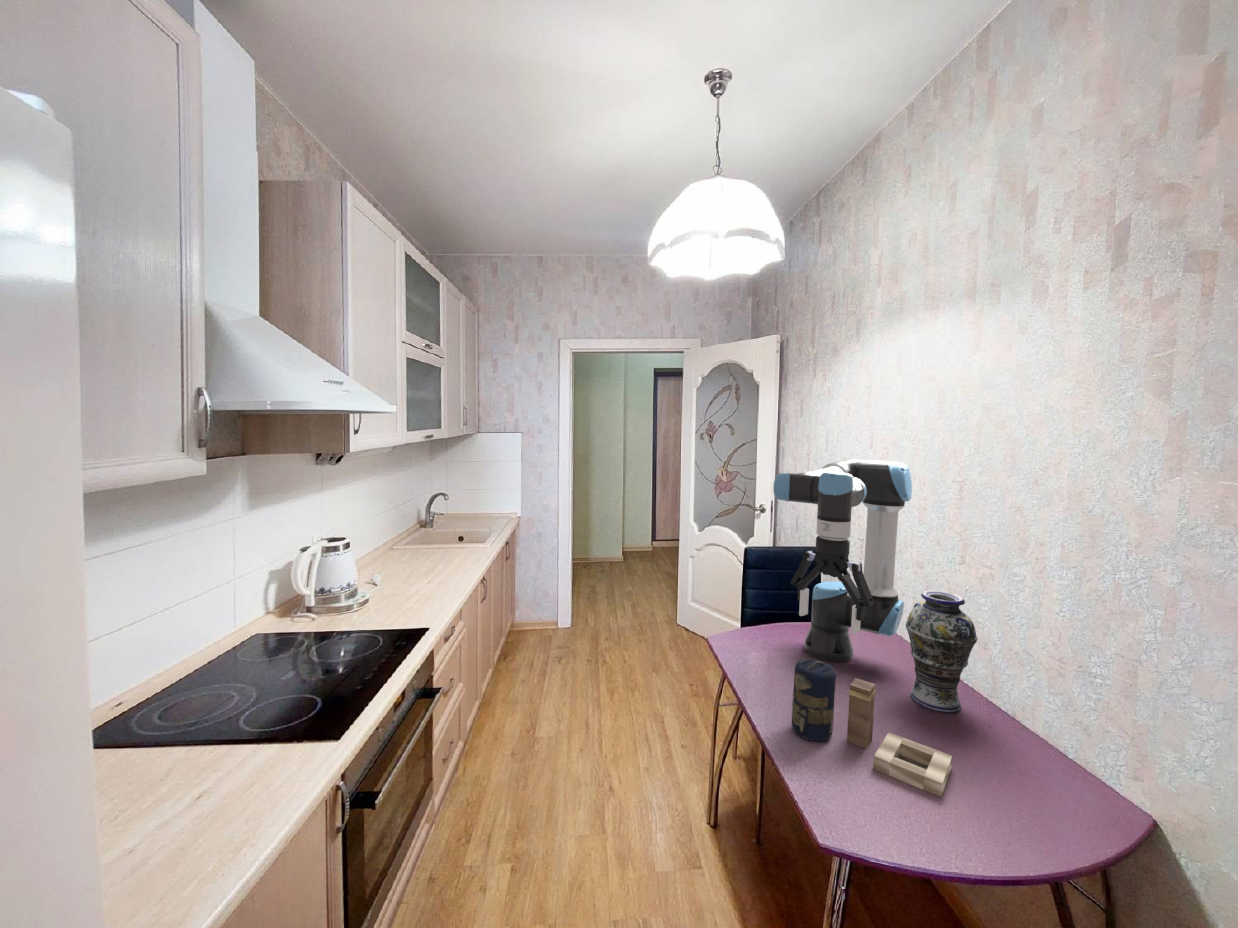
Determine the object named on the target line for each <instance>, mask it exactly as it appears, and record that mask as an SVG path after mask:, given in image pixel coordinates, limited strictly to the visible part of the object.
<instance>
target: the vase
mask: <svg viewBox="0 0 1238 928" xmlns="http://www.w3.org/2000/svg"><path fill="white" fill-rule="evenodd" d="M920 596H921V598H922V599H924V600H925V601H920V602H916V603H915V604H914V606H913V608H912V609H911V610H910V612H909V614H908V618H907V620H906V622H905V628H906V630H907V634H908V639H909V641H910V648H911V650H910V655H911V656H912V657H913V660H914V661H913V662H914V673H915V681H914V684H913V687H912V688H911V689H912V690H911V691H910V694H909V696H910V700H912V701H913V702H914V703H915V704H916V705H918V706H920V707H922V708H923V709H926V710H929V711H931V712H935V713H939V714H940V713H941V714H959V713H960V712H961V711H962V705H961V700H960V697H959V693H958V686H959V683H960V681H961V676H962V672H963V670H964V669H965V668H966V667H967V666H968V665H969V662H968V661H969V658H970V656H971V653H972V651H973V648H974V646H975V645H976V644H977V641H978V636H977V631H976V627H975V624H974V623H973V621H972V619H971V618H970V617H969V616H968V615H967V614H966V613H965V612H963V610H961V609H960V606H963V605H965V604H966V601H965V599H964V598H963V597H962V596H960V595H958V594H956V593H953V592H952V593H951V592H948V591H943V590H937V589H936V590H925V591H923V592H921V594H920Z"/></svg>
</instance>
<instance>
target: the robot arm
mask: <svg viewBox="0 0 1238 928" xmlns="http://www.w3.org/2000/svg"><path fill="white" fill-rule="evenodd" d="M912 484H913V483H912V477H911V471H910V469H909V466H908V465H907V464H905V463H903V462H898V461H892V460H889V461H888V460H870V459H869V460H868V459H866V460H865V459H864V460H863V459H847V460H841V461H837V462H831V463H828V464H825V465H824V466H822V467H821V468H819V469H814V470H810V471H805V472H804V471H803V472H800V473H791V472H781V473H778V474H777V475H776V476H775V478H774V481H773V495H774V497H775V498H776V500H780V501H785V502H788V503H789V502H792V503H804V504H813V505H817V513H816V514H817V515H816V532H815V533H816V534H817V536H816V538H815V551H816V553H814V551H813V550H807V551H805V552H803V557H802V560H801V562H800V563H799V566H798V568H797V569H796V570H795V572H794V575H793V577H792V578H791V580H790V584H791V585H792V586H795V587H796V589H797V591H796V593H797V597H796V599H797V601H798V602H799V604H798V605H799V610H798V616H800V617H803V616H806V615H807V616H808V615H809V597H810V589H809V588H808V586H809V585H810V584H811V583H812V582H813V581H814V580H815V579H816V578H817V577H818V576H819V575H820V574H822V575H824V576H829V577H831V578H832V577H833V578H837V580H838V581H825V582H819V583H817V584H815V585H814V586H813V589H812V597H811V620H810V621H811V623H810V628H809V630H808V633H807V635H806V637H805V640H804V650H805V652H806V653H807V654H809V655H811V656H812V657H814V658H816V659H820V660H823V661H829V662H835V663H836V662H837V663H840V662H843V663H844V662H848V661H850V660H852V659H853V658H854V647H853V643H852V640H851V637H850V634H851V635H856V634H859V633H860V632H861V631H864V632H868V633H872V634H876V635H877V636H880V635H881V636H886V637H892V636H894V635H896V634H897V631H898V629H899V627H900V624H901V621H902V618H903V613H904V607H905V606H904V604H905V603H904V601H903V600H901V599H899V592H898V591H897V590H896V588H895V587H894V582H895V581H894V580H895V579H894V578H895V565H896V553H897V552H896V550H897V539H898V538H897V537H898V523H899V522H898V520H899V512H900V510H902V509H903V508H904V507H905V505H906V503H905V502H910V500H911V499H912V491H913V485H912ZM861 503H862V504H863V505H864V506H865V507H866V508H867V515H866V516H867V517H866V530H865V546H864V559H863V560H864V561H863V563H862V562H860V561H858V562H853V561H850V559H849V555H850V547H851V541H850V539H849V538H850V537H851V529H852V528H851V526H852V508H854V507H857V506H859V505H860V504H861ZM813 561H814V562H815V563H816V566H815V567H813V568H812V569H811V570H810V572H809V573H808V574H807V571H808V569H809V568H810V566H811V564H812V562H813ZM848 568H849V571H850V572H851V574H852V577H851V574H850V572H849V571H848ZM806 574H807V575H806ZM805 575H806V576H805ZM852 578H853V579H852ZM849 629H850V633H849Z"/></svg>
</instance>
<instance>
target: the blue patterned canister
mask: <svg viewBox="0 0 1238 928" xmlns="http://www.w3.org/2000/svg"><path fill="white" fill-rule="evenodd" d="M836 673H837V672H836V670H835V668H833V666H831V665H829V664H828V663H826V662H824V661H821V660H817V659H808V658H807V659H800V660H799V661H797V662H796V664H795V665H794V674H793V675H794V676H793V691H792V711H791V727H792V729H793V731H794V732H795V734H798V736H800V737H802V738H804V739H805V740H809V741H814V742H823V741H827V740H829V739H830V738H832V737H831V736H832V735H833V732H834V731H833V729H834V716H835V715H834V712H835V698H836V695H835V693H836V682H837V674H836Z"/></svg>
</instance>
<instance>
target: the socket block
mask: <svg viewBox="0 0 1238 928" xmlns="http://www.w3.org/2000/svg"><path fill="white" fill-rule="evenodd" d="M952 765H953V755H951V754H948V753H945V752H943V751H940V750H937V749H934V748H932V747H929V746H927V745H923V744H922V743H919V742H916V741H913V740H910V739H908V738H905V737H902V736H901V735H897V734H894V733H891V732H887V734H886V736H885V737H884V739H883V740H882V742H881V744H880V746H879V747H878V749H877V750H876V752H875V754H874V755H873V765H872V766H873V767H872V769H873V770H874V771H876V772H877V771H878V772H880V773H882V774H884V775H887V776H888V777H889V776H890V777H892V778H893V779H896V780H899V781H901V782H904V783H906V784H908V785H910V786H913V787H915V788H918V789H920V790H922V791H925V792H928V793H930V794H931V795H932V794H933V795H935V796H937V797H940V798H942V796H943V794H944V791H945V787H946V785H947V782H948V780H949V776H950V774H951V771H952V769H953V768H952Z"/></svg>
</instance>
